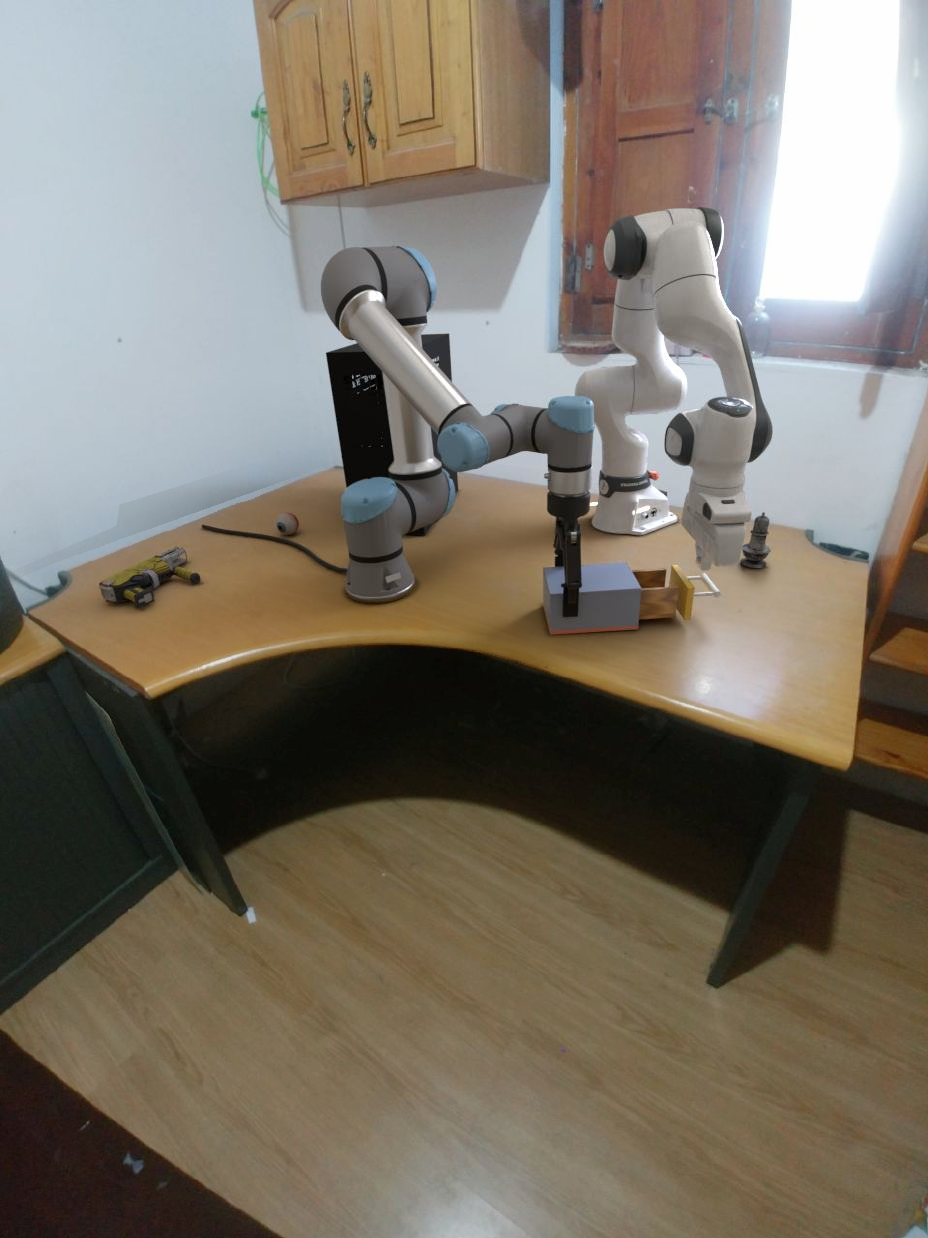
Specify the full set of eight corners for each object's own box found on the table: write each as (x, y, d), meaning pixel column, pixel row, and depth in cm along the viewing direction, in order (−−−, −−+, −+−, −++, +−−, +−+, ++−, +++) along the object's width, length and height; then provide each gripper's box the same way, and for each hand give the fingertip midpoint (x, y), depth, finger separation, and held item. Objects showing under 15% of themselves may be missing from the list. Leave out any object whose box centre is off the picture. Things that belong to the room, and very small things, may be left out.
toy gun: (223, 554, 147) (173, 544, 151) (148, 595, 127) (92, 582, 131) (226, 572, 149) (177, 561, 153) (152, 615, 129) (97, 601, 133)
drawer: (701, 593, 121) (705, 562, 118) (720, 618, 112) (725, 586, 109) (597, 599, 122) (599, 569, 119) (608, 625, 113) (610, 593, 110)
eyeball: (273, 537, 164) (268, 516, 161) (287, 528, 169) (282, 508, 166) (291, 539, 161) (286, 518, 158) (305, 530, 166) (301, 510, 163)
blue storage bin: (624, 600, 123) (626, 561, 118) (638, 629, 113) (641, 588, 109) (543, 605, 123) (543, 567, 119) (550, 634, 114) (550, 594, 109)
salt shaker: (770, 569, 132) (782, 517, 126) (741, 568, 133) (751, 516, 127) (764, 558, 137) (775, 507, 131) (736, 557, 138) (746, 507, 132)
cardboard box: (424, 535, 159) (408, 350, 137) (353, 532, 164) (325, 352, 141) (458, 489, 191) (449, 333, 168) (397, 488, 195) (380, 335, 173)
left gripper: (540, 472, 116) (539, 574, 127) (556, 515, 95) (553, 633, 106) (579, 470, 116) (575, 572, 126) (603, 513, 95) (596, 631, 106)
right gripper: (678, 478, 115) (669, 545, 122) (717, 518, 97) (704, 593, 105) (711, 476, 115) (700, 543, 122) (756, 516, 97) (740, 591, 104)
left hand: (565, 600), depth 116 cm, fingers closed on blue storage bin, 11 cm apart
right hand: (702, 567), depth 113 cm, fingers closed
